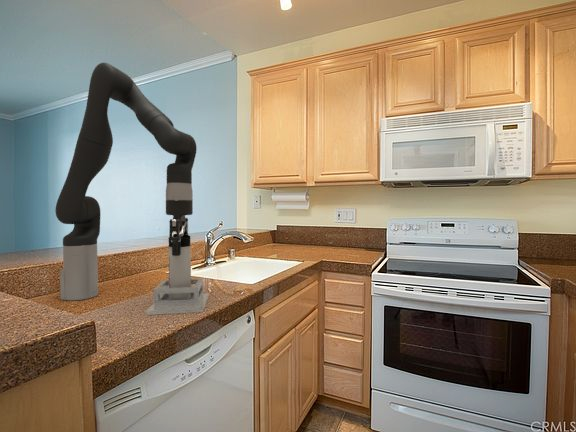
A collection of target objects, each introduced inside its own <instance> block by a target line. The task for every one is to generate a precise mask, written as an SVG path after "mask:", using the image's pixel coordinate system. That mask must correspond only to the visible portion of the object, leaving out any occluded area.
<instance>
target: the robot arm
mask: <svg viewBox="0 0 576 432" xmlns="http://www.w3.org/2000/svg"><path fill="white" fill-rule="evenodd" d="M89 80H90V81H89V88H88V93H87V100H86V106H85V111H84V115H83V119H82V123H81V128H80V131H79V134H78V137H77V140H76V144H75V147H74V152H73V156H72V160H71V163H70V166H69V169H68V172H67V174H66V175H67V176H66V178H65V181H64V184H63V186H62V188H61V191H60V193H59V195H58V198H57V201H56V205H55V209H54V210H55V216H56V218H57V220H58V221H59V222H60V223H62V224H65V225H73V229H72V230H71V231H70V232H69V233H68V234H66V235H64V236H63V238H62V260H63V261H62V262H63V263H62V265H63V266H62V269H60V271H59V280H60V281H59V283H60V284H59V286H60V287H59V288H60V300H62V301H63V300H64V301H79V300H80V301H82V300H87V299H92V298H94V297H97V296H98V295H99V277H98V275H99V272H98V271H99V270H98V269H99V268H98V239H99V236H100V232H101V206H100V203H99V202H98V200H97V199H95V198H94V197H92V196H89V195H86V194H87V192H88V188H89V185H90V184H91V182H92V181H93V180H94V179H95V177H96V176H97V175H98V174H99V173H100V172H101V171H102V170H103V169H104V167H105V166H106V165H107V163H108V161H109V159H110V156H111V153H112V150H113V149H112V148H113V143H114V140H113V134H112V133H113V132H112V129H111V125H110V122H109V116H108V110H109V104H110V99H111V100H113V101H116V102H119V103H121V104H123V105H124V106H126V107H128V108H129V109H130V110H131V111H133V112H134V114H135V116H136V119H137V121H138V122H139V123H140V124H141V126H143V127H144V128H145V129H146V131H148V132H149V133H150V134H151V135H152V136H153V137H154V139H155V141H156V142H157V144H158V145H159V147H161V149H162V150H163V151H165V152H166V153H168V154H170V155H175V160H174V162H172V163H169V164H167V166H166V185H165V186H166V187H165V214H166V216H172V218H171V219H169V221H168V223H169V234H168V235H169V237H168V241H169V240H170V241H171V242H173V243H172V255H173V256H179V255H180V254H181V237H182V236H183V235H184V234H186V235H189V218H188V217H186V216H192V215H193V213H194V212H193V210H194V209H193V202H194V201H193V199H194V198H193V197H194V195H193V192H194V191H193V186H192V182H193V180H192V179H193V178H192V177H193V175H192V174H193V173H192V170H193V167H194V164H195V159H196V155H197V149H198V147H197V143H196V140H195V138H194V137H193V135H191V134H189V133H185V132H183V131H180V130H178V129H177V128H175V126H174V124H173V121H172V120H171V119H170V118H169V117H168V116H167V115H166V114H165V113H163V112H162V111H161V109H159V108H158V107H157V106H156V105H154V103H152V102H151V101H150V100H149V99H148V98H147V96H145V94H143V93H144V92H142V90H141V89H140V88H139V87H138V85H137V84H136V82H135V81H134V80H133V79H132V78H131V76H129V75H128V74H127V73H126V72H123V70H120V69H119V68H117V67H115V66H113V65H112V64H110V63H109V62H100V63H98V64H97V65H96V66H95V68H94V69H93V71H92V73H91V76H90V79H89ZM174 236H177V237H174Z"/></svg>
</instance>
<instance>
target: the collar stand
mask: <svg viewBox="0 0 576 432" xmlns="http://www.w3.org/2000/svg"><path fill="white" fill-rule="evenodd" d="M193 285H194V286H193ZM173 293H191V298H190V299H170V300H169V294H173ZM209 297H210V293H206V292H205V293H204V278H201V277H200V278H191V286H188V287H169V279H163V280H162V281H161V282H160V283H159V284H158V285H156V286H155V287H154V288H153V303H152V304H151V305H150V306H149V307H148V308H147V310H146V311H145V316H154V315H173V314H175V315H176V314H190V313H203V312H204V310H205V308H206V305H207V302H208V300H209Z"/></svg>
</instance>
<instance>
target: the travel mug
mask: <svg viewBox="0 0 576 432" xmlns="http://www.w3.org/2000/svg"><path fill="white" fill-rule="evenodd" d="M174 237H177V236H174ZM172 243H173V242H171V241H170V240H169V239H168V249H167V250H168V254H167V255H168V280H169V285H168V287H188V286H192V284H191V279H192V270H191V269H192V265H191V264H192V263H191V262H192V259H191V258H192V256H191V255H192V254H191V253H192V248H191V247H192V245H191V235H189V234H188V235H186V234H184V235H183V236H182V237H181V254H180V255H179V256H173V255H172ZM190 298H191V293H173V294H169V300H170V299H190Z"/></svg>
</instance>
